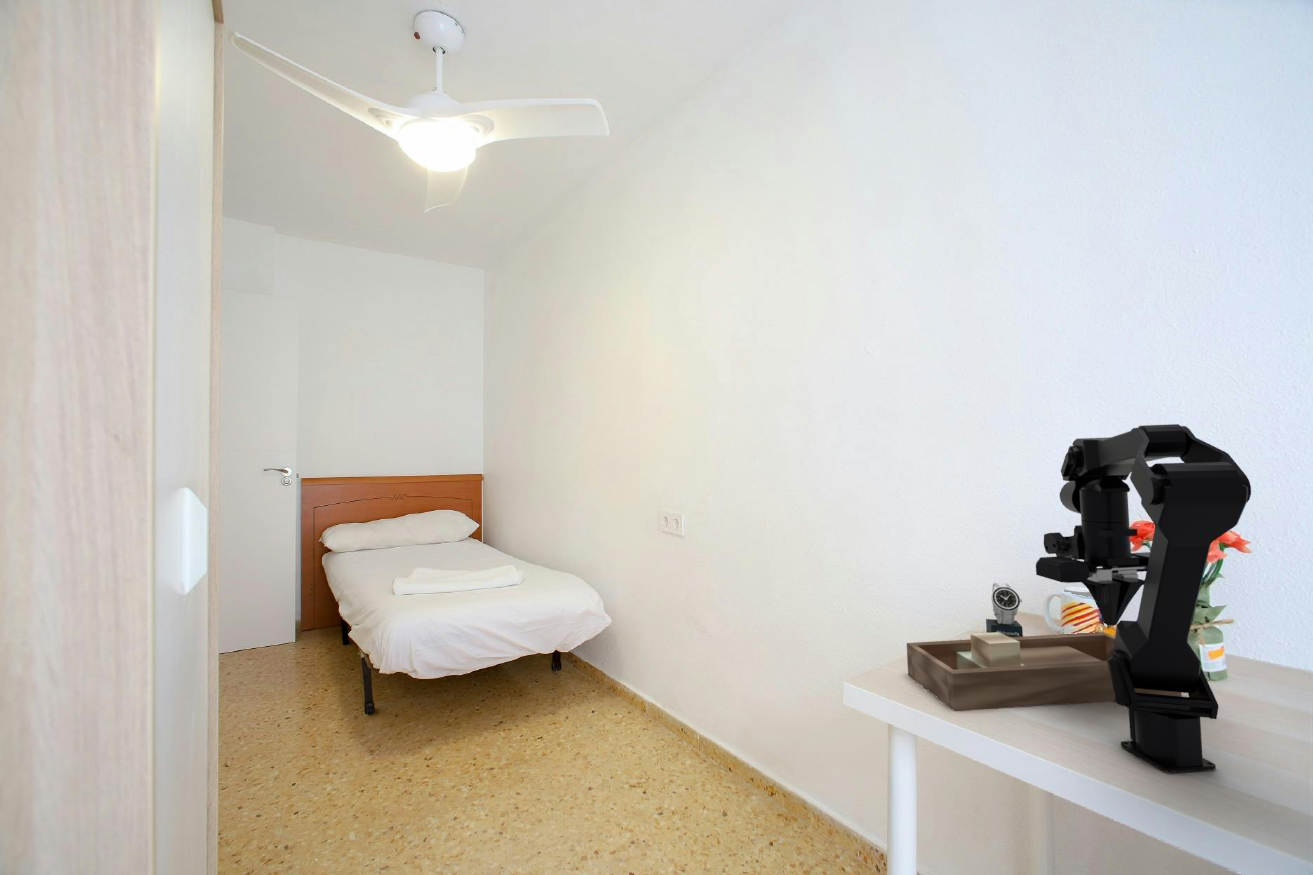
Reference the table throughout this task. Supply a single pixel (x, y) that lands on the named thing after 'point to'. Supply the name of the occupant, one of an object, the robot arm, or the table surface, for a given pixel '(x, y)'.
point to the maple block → (995, 649)
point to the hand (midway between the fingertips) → (1110, 624)
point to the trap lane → (1019, 672)
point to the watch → (1004, 611)
